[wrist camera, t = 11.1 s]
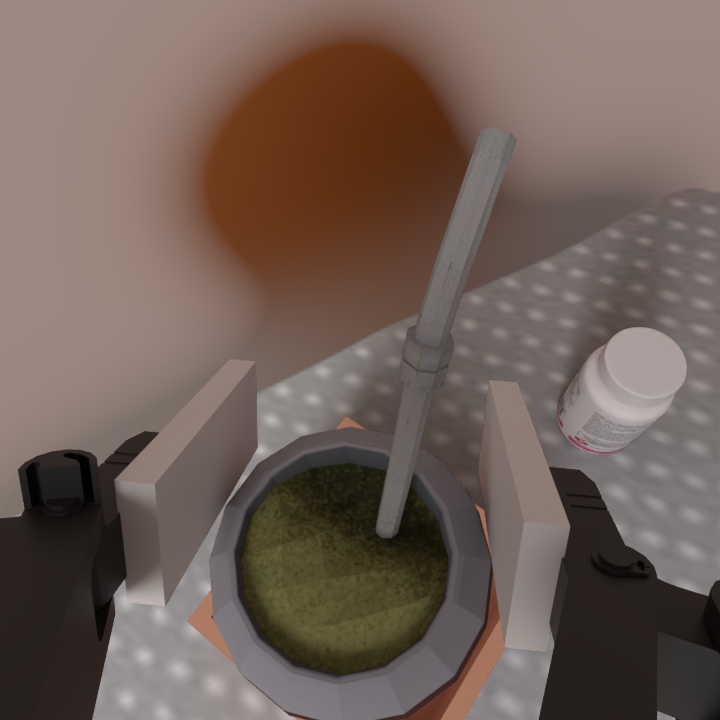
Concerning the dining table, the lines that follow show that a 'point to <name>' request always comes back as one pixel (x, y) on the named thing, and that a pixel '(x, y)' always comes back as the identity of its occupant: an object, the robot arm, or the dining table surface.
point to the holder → (453, 704)
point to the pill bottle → (621, 390)
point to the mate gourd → (366, 532)
